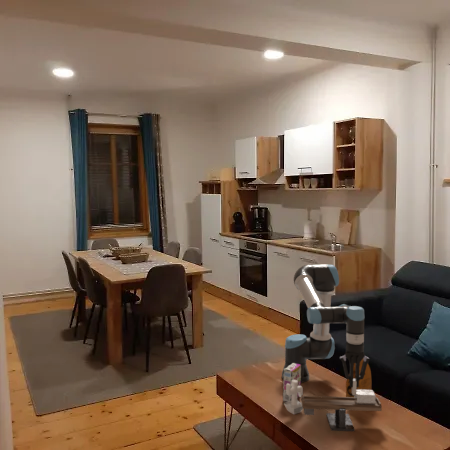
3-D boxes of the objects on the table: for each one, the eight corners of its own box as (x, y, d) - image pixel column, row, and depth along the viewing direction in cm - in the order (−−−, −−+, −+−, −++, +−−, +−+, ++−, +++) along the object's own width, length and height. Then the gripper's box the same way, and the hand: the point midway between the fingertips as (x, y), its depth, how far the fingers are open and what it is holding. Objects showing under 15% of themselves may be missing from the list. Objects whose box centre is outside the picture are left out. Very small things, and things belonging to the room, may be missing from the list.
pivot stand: (326, 415, 218) (326, 396, 218) (348, 416, 218) (348, 397, 217) (331, 430, 204) (331, 410, 204) (354, 431, 204) (355, 411, 203)
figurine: (307, 411, 222) (307, 380, 221) (292, 417, 216) (292, 385, 215) (296, 406, 228) (296, 375, 227) (281, 411, 222) (281, 380, 221)
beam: (300, 406, 216) (301, 393, 216) (376, 409, 214) (376, 395, 213) (302, 415, 207) (303, 402, 207) (381, 418, 205) (381, 404, 205)
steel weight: (354, 400, 213) (354, 389, 212) (372, 400, 212) (372, 389, 212) (356, 405, 207) (357, 394, 207) (375, 406, 207) (375, 395, 206)
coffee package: (342, 403, 231) (342, 359, 229) (356, 396, 239) (357, 353, 237) (359, 410, 223) (360, 365, 222) (374, 402, 231) (375, 358, 230)
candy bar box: (291, 404, 230) (292, 371, 229) (282, 401, 233) (282, 369, 232) (301, 395, 239) (301, 364, 238) (292, 393, 242) (292, 362, 241)
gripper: (341, 344, 205) (340, 397, 206) (372, 345, 204) (370, 398, 205) (338, 339, 212) (337, 390, 214) (367, 339, 211) (366, 390, 213)
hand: (353, 393), depth 210 cm, fingers closed
